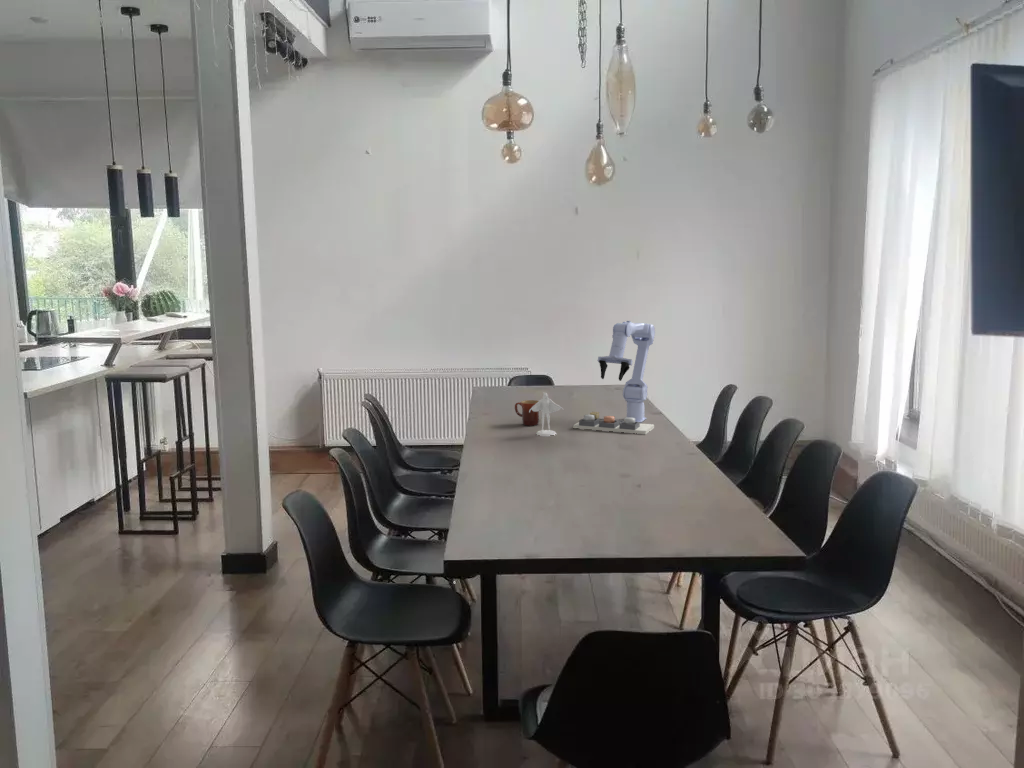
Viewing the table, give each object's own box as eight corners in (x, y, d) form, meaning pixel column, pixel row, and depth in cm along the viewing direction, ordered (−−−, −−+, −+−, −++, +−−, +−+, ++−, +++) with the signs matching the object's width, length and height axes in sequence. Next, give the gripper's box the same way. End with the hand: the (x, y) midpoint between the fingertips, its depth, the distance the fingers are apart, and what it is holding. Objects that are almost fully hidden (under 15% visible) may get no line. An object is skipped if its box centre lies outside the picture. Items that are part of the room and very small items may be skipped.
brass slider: (592, 419, 357) (592, 411, 356) (599, 420, 356) (599, 412, 355) (589, 421, 353) (589, 413, 353) (596, 421, 352) (596, 413, 352)
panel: (583, 422, 360) (583, 414, 359) (654, 427, 347) (654, 419, 346) (573, 428, 348) (573, 420, 347) (645, 434, 334) (645, 426, 334)
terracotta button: (605, 421, 347) (605, 415, 347) (616, 422, 345) (616, 416, 345) (602, 423, 343) (602, 417, 343) (612, 424, 341) (612, 418, 341)
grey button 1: (585, 419, 351) (585, 414, 351) (595, 420, 349) (595, 414, 349) (582, 421, 347) (582, 416, 347) (592, 422, 345) (592, 416, 345)
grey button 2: (625, 422, 344) (625, 416, 343) (636, 423, 342) (636, 417, 341) (622, 424, 340) (622, 419, 339) (633, 425, 338) (633, 419, 337)
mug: (543, 423, 359) (543, 400, 357) (535, 427, 351) (534, 404, 350) (519, 421, 365) (519, 399, 363) (510, 425, 357) (510, 402, 355)
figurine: (529, 436, 334) (528, 393, 331) (530, 430, 345) (529, 389, 342) (564, 436, 334) (563, 393, 331) (563, 430, 344) (563, 389, 341)
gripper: (598, 343, 338) (591, 373, 334) (632, 346, 332) (625, 376, 328) (603, 351, 344) (596, 380, 340) (635, 353, 338) (629, 383, 334)
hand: (610, 379), depth 334 cm, fingers open, 7 cm apart
